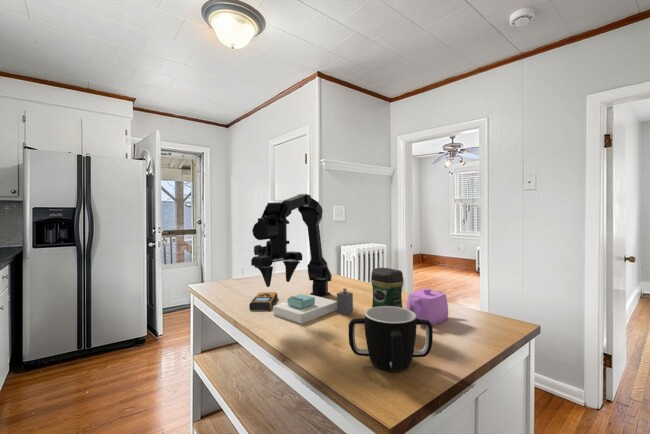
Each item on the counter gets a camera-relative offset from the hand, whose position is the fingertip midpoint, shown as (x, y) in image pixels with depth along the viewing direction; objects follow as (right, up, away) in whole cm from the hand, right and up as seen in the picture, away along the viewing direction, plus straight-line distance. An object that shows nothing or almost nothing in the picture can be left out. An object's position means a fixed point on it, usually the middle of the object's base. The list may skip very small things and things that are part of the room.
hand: (278, 284), depth 105 cm
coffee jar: (+35, -12, -8) cm, 38 cm away
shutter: (+7, -8, +6) cm, 12 cm away
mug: (+31, -13, -31) cm, 45 cm away
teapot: (+50, -12, -1) cm, 52 cm away
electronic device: (-8, -12, +18) cm, 23 cm away
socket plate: (+9, -12, +7) cm, 16 cm away
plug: (+23, -12, +6) cm, 26 cm away
